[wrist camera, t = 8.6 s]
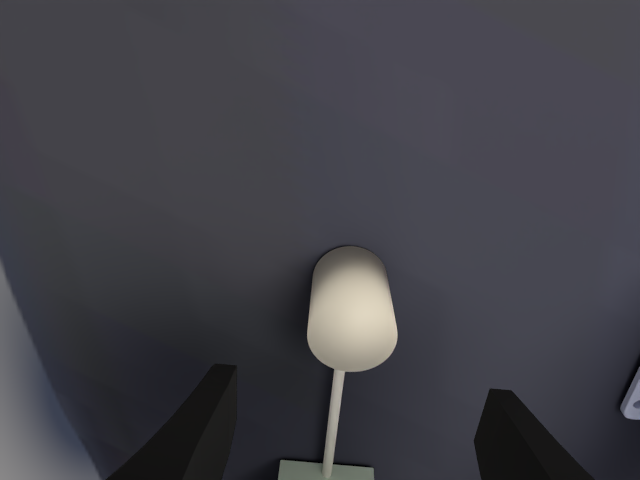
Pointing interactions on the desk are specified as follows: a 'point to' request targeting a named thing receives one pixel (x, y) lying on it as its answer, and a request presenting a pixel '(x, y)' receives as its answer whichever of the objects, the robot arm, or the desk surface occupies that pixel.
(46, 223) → the desk surface
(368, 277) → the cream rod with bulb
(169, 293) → the desk surface
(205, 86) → the desk surface
